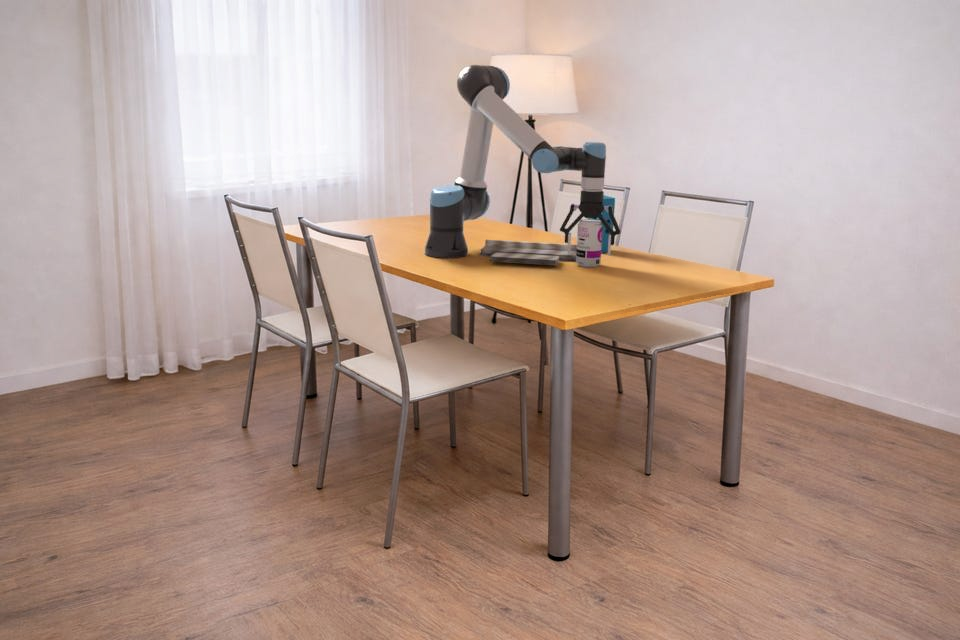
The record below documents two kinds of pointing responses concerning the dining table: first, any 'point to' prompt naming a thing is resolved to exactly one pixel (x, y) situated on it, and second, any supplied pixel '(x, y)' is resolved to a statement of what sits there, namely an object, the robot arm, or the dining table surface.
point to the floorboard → (529, 249)
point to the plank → (524, 258)
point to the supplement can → (589, 243)
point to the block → (605, 232)
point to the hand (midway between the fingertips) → (588, 253)
